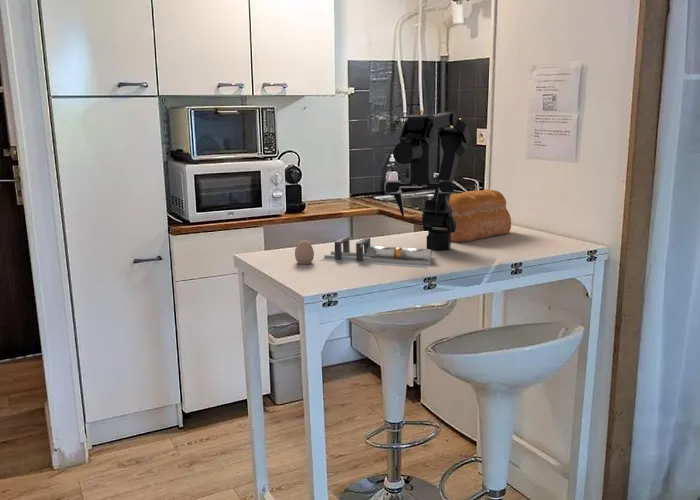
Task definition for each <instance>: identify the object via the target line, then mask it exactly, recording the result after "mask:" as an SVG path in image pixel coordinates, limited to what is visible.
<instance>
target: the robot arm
mask: <svg viewBox="0 0 700 500" xmlns="http://www.w3.org/2000/svg"><path fill="white" fill-rule="evenodd" d="M450 126H451V127H450ZM436 130H437V136H438V138H439V140H440V143H439V144H440V146H441V149H442V159H441V163H440V167H439V172H438V176H437V180H436V182H431V144H432V143H433V140H432V135H434V134H435V133H436ZM470 141H471V132H470V129H469V127H468V125H467V123H465V122H464V121H463V120H461V118H459V117H458V113H456V112H454V111H441V112H438V113H435V114H409V115H408V116H407V118H406V120H405V121H404V125H403V127H402V131H401V134H400V137H399V143H398V144H396V145H395V147H394V149H393V150H392V151H393V152H392V153H393V154H392V155H393V159H394V160H395V161H396V162H397V163H398V164H401V165H406V164H408V166H409V167H405V169H404V172H405V173H404V178H405V181H409V182H402V181H401V180H400V179H398V180H397V179H395V180H394V179H393V180H392V179H389V180H387V181H386V183H385V186H384V187H385V188H384V189H385V193H389V196H393V197H394V199H395V201H396V203H397V205H398V208H399V209H398V210H399V211H400V214H401V217H402V218H404V217H405V208H404V201H403V191H402V190H409V191H410V190H434V192H433V193H434V194H433V196H432V198H431V199H426V201H425V202H424V203H425V205H424V208H423V210H422V214H421V221H422V227H423V231H424V232H427V233H428V235H426V249H431V250H432V251H434V252H435V251H436V252H440V251H441V252H442V251H450V250H451V249H452V241H451V233H454V232H455V231H456V222H455V220H454V218H453V216H452V208H451V205H450V203H449V200H450V195H452V193H454V192H455V190H454V189H455V185H454V184H455V183H454V182H455V177H456V174H457V173H456V171H457V168H458V164H459V159H460V157H461V155H463V153H465V152H466V150H467V148H468V145H469V143H470Z"/></svg>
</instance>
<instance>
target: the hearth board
mask: <svg viewBox="0 0 700 500" xmlns="http://www.w3.org/2000/svg"><path fill="white" fill-rule="evenodd" d="M436 259H437V257H433V256H432V260H431V262H428V261H413V260H398V259H383V258H368V257H367V254H366V253H364V252H363V261H356V251H355V252H351V251H350V252H343V251H342V256H341V260H335V250H331V251H330V254H324V257H323V258H322V259H320V260H319V261H320V262H321V261H322V262H334V263H336V262H337V263H349V264H363V265H364V264H365V265H376V266H377V265H378V266H391V267H407V268H408V267H409V268H423V269H427V268H428V267H429V266H430V265H432V263H433V262H434V261H436Z"/></svg>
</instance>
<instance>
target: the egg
mask: <svg viewBox="0 0 700 500" xmlns="http://www.w3.org/2000/svg"><path fill="white" fill-rule="evenodd" d="M314 251H315V250H314V248H313V246H312V244H311V243H310V242H309V241H308V240H306V239H303V240H300V241H299V242H298V243H297V245H296V247H295V250H294V257H295V260H296V262H297V263H298V264H299V265H303V266H304V265H310V264H311V263H313V260H314V256H315V252H314Z"/></svg>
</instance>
